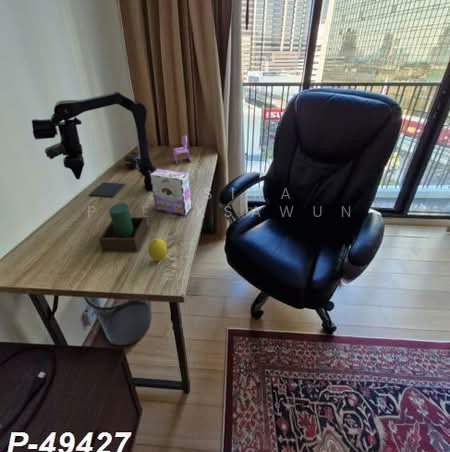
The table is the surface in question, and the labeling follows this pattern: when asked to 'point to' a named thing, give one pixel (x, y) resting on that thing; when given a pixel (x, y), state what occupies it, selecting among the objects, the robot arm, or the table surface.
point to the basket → (124, 244)
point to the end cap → (132, 160)
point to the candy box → (171, 191)
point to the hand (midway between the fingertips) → (77, 174)
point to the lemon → (157, 249)
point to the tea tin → (122, 221)
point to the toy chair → (182, 149)
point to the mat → (107, 189)
